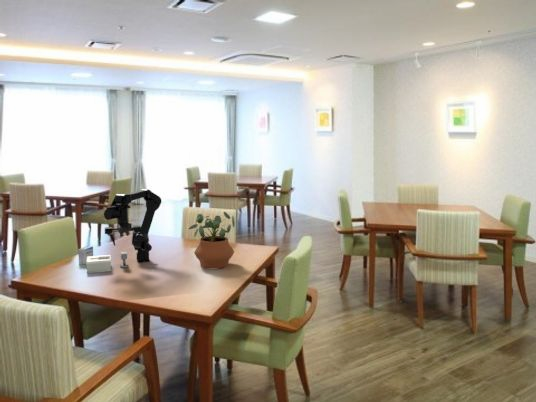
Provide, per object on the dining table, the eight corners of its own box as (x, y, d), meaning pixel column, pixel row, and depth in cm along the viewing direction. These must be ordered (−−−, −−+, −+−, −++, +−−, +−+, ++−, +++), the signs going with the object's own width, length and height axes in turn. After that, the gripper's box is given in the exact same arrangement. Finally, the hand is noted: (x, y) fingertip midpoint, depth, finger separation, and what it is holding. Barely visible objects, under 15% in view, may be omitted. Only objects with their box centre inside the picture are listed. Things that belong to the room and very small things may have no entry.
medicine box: (85, 264, 251) (85, 249, 249) (78, 264, 252) (77, 249, 250) (93, 261, 258) (93, 246, 257) (87, 260, 259) (86, 245, 258)
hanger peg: (128, 265, 250) (127, 251, 249) (128, 267, 245) (128, 253, 244) (120, 265, 249) (119, 251, 248) (120, 268, 243) (119, 254, 242)
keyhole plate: (110, 265, 250) (110, 254, 249) (111, 271, 239) (110, 260, 238) (87, 267, 246) (87, 256, 245) (86, 273, 235) (86, 262, 234)
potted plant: (215, 273, 236) (215, 217, 232) (177, 264, 252) (176, 212, 247) (242, 263, 255) (242, 211, 250) (205, 256, 270) (204, 207, 266)
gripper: (104, 220, 232) (105, 249, 235) (141, 218, 239) (142, 247, 241) (104, 217, 243) (105, 245, 245) (139, 215, 249) (140, 242, 251)
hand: (123, 245), depth 245 cm, fingers open, 9 cm apart
